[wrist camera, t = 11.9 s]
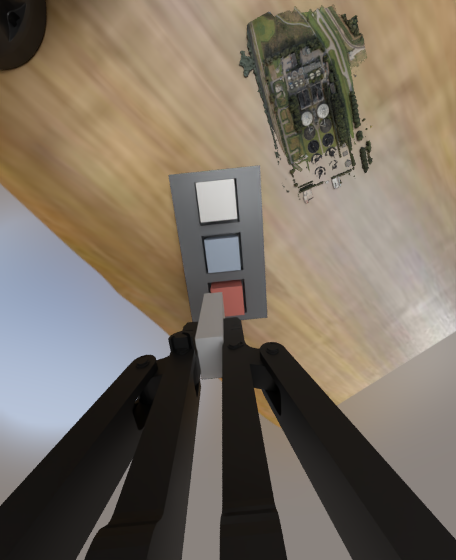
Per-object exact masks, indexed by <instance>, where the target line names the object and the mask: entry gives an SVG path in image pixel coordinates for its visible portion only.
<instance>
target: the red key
mask: <svg viewBox="0 0 456 560" xmlns="http://www.w3.org/2000/svg"><path fill="white" fill-rule="evenodd" d="M216 292H222V295H223V304H224V313H225V317H226V316H236V315H245V314H244V302H243V290H242V283H241V280H230V281H220V282H212V284H211V293H216Z"/></svg>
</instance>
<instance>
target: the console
mask: <svg viewBox="0 0 456 560" xmlns="http://www.w3.org/2000/svg"><path fill="white" fill-rule="evenodd" d="M226 179H234V185H235V198H236V210H237V219H230V220H220V221H210V222H201V220H200V212H199V205H198V197H197V190H196V183H198V182H207V181H217V180H226ZM169 181H170V187H171V193H172V199H173V205H174V211H175V218H176V224H177V230H178V236H179V242H180V248H181V254H182V260H183V266H184V272H185V278H186V285H187V291H188V297H189V303H190V309H191V315H192V321H193V322H198V321H199V317H200V312H201V307H202V303H203V298H204V294H206V293H211V284H212V282H220V281H230V280H241V283H242V290H243V302H244V314H245V315H236V316H226V317H225V318H233V317H238V318H239V319H240V320H247V319H257V318H267V300H266V280H265V259H264V239H263V218H262V198H261V177H260V166H250V167H240V168H231V169H221V170H212V171H202V172H193V173H183V174H174V175H169ZM227 235H237V236H238V242H239V254H240V266H241V270H235V271H225V272H215V273H208V265H207V258H206V250H205V242H204V240H205V239H206V238H208V237H217V236H227Z"/></svg>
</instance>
